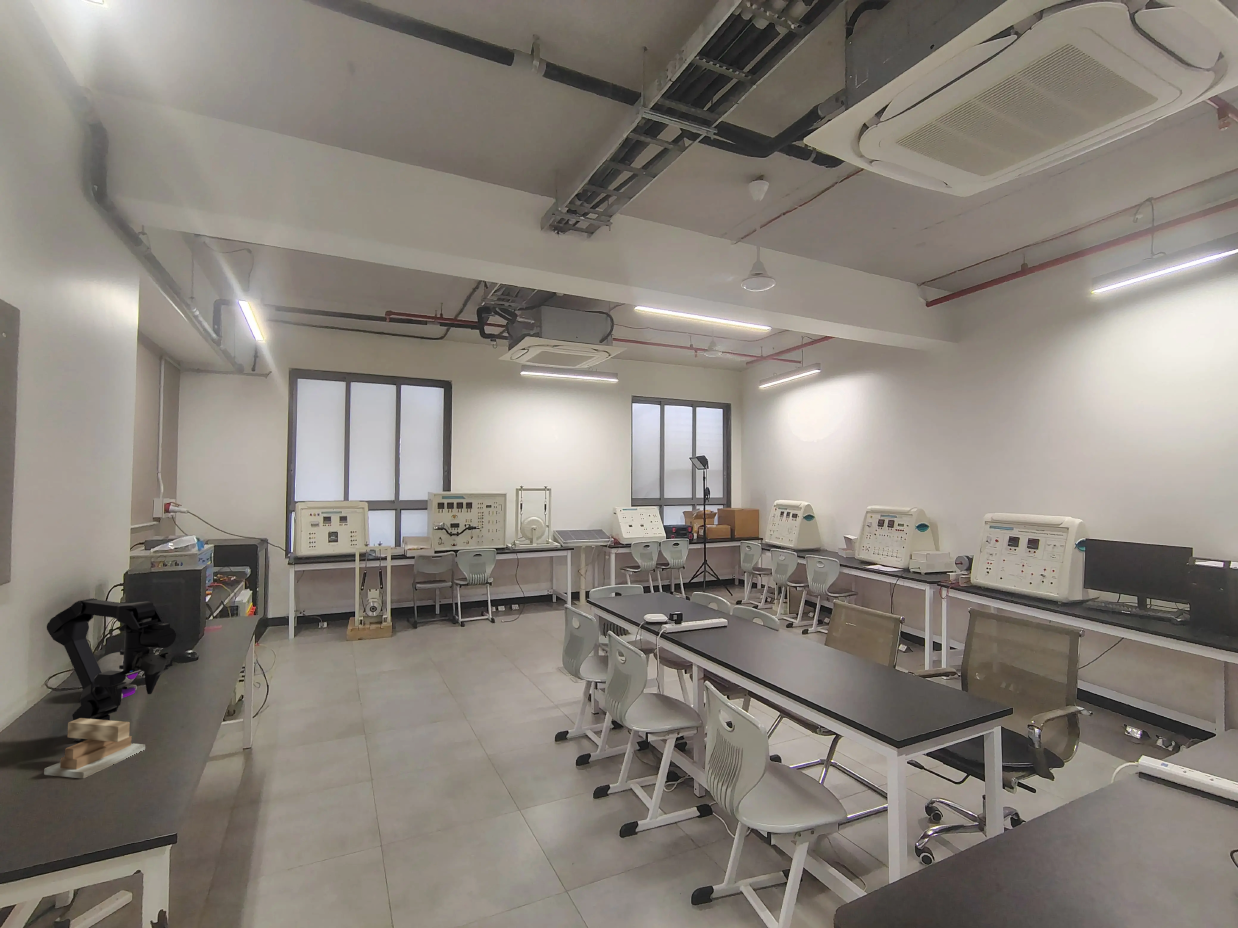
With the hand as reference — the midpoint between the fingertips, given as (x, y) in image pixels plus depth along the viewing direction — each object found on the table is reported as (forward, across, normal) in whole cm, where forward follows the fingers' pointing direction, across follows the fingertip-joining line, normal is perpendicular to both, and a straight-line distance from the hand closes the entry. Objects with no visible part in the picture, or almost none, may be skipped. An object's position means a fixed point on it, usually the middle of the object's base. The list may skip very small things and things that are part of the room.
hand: (134, 699), depth 164 cm
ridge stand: (+12, -12, -3) cm, 17 cm away
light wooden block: (+6, -12, -3) cm, 14 cm away
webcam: (+12, +30, +43) cm, 54 cm away
